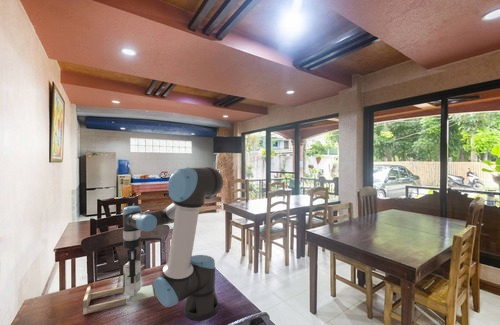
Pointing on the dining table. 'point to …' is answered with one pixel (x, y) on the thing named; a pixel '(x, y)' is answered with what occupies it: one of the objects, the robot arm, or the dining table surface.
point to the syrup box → (126, 279)
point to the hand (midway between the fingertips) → (132, 285)
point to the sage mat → (143, 293)
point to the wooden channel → (101, 306)
